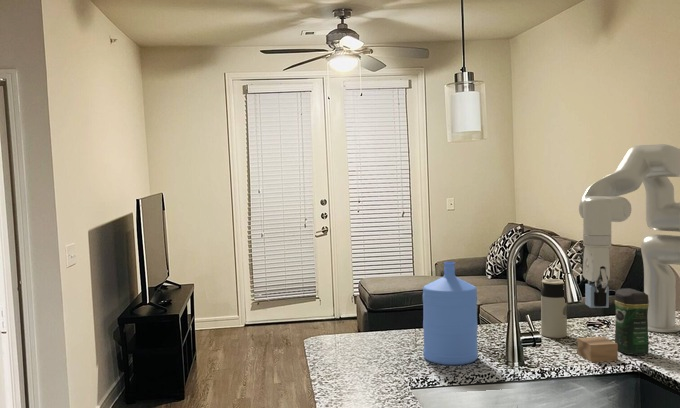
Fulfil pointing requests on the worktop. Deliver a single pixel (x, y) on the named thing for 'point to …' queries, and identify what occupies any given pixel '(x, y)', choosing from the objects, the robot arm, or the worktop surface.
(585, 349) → the walnut block
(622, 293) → the coffee jar
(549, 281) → the travel mug
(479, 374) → the worktop surface
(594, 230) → the robot arm
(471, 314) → the water jug
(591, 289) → the blue block
